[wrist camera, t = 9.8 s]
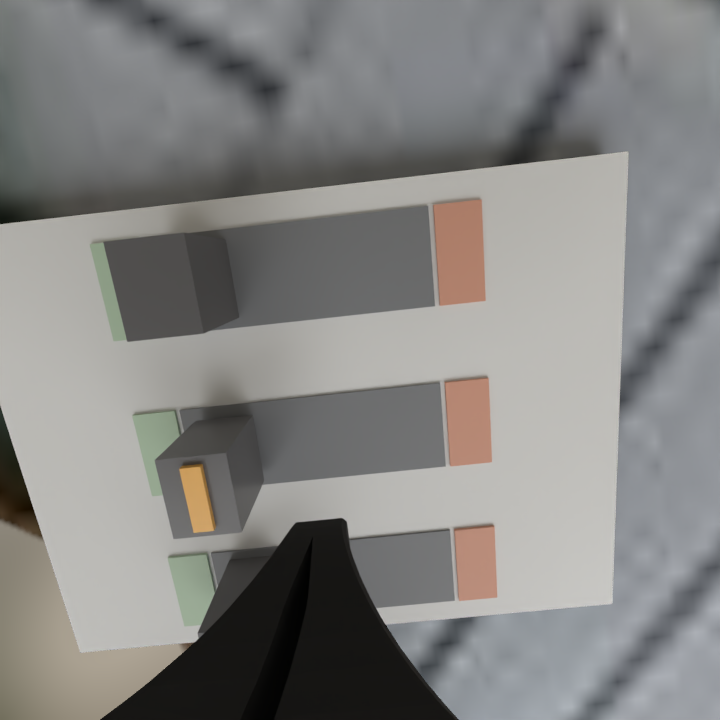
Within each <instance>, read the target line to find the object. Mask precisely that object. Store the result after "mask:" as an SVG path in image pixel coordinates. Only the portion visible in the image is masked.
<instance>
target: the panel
mask: <svg viewBox="0 0 720 720" xmlns="http://www.w3.org/2000/svg"><path fill="white" fill-rule="evenodd" d="M628 153H629V151H628V152H619V153H611V154H602V155H594V156H585V157H576V158H568V159H559V160H551V161H542V162H533V163H525V164H516V165H507V166H499V167H490V168H482V169H473V170H464V171H456V172H447V173H438V174H430V175H421V176H413V177H404V178H395V179H387V180H378V181H369V182H361V183H352V184H344V185H335V186H326V187H318V188H309V189H300V190H292V191H283V192H275V193H266V194H257V195H249V196H240V197H232V198H223V199H214V200H206V201H197V202H188V203H180V204H171V205H163V206H154V207H145V208H137V209H128V210H119V211H111V212H102V213H94V214H85V215H76V216H68V217H59V218H50V219H42V220H33V221H25V222H16V223H7V224H0V406H1V409H2V412H3V415H4V419H5V422H6V425H7V428H8V431H9V434H10V437H11V440H12V443H13V446H14V449H15V453H16V456H17V459H18V462H19V465H20V468H21V471H22V474H23V477H24V480H25V483H26V487H27V490H28V493H29V496H30V499H31V502H32V505H33V508H34V511H35V514H36V517H37V521H38V524H39V527H40V530H41V533H42V536H43V539H44V542H45V545H46V548H47V551H48V555H49V557H50V561H51V564H52V567H53V570H54V573H55V576H56V579H57V582H58V586H59V588H60V591H61V595H62V598H63V601H64V603H65V607H66V610H67V613H68V616H69V620H70V623H71V625H72V628H73V632H74V635H75V638H76V641H77V644H78V647H79V650H80V653H82V652H92V651H104V650H115V649H125V648H137V647H147V646H159V645H170V644H180V643H191V642H196V641H197V640H198V639H199V638H200V637H201V636H202V635H203V634H204V633H205V632H206V631H207V630H208V629H209V628H210V627H211V626H212V625H213V624H214V623H215V622H216V621H217V620H218V619H219V618H220V617H221V616H222V615H223V613H224V612H225V611H226V610H227V609H228V608H229V607H230V606H231V605H232V603H233V602H234V601H235V600H236V599H237V598H238V596H239V595H240V594H241V593H242V592H243V591H244V589H245V588H246V587H247V586H248V585H249V584H250V582H251V581H252V580H253V579H254V577H255V576H256V575H257V573H258V572H259V571H260V570H261V568H262V567H263V566H264V564H265V563H266V562H267V561H268V559H269V558H270V557H271V555H272V554H273V552H274V551H275V550H276V548H277V547H278V546H279V544H280V543H281V541H282V540H283V539H284V537H285V536H286V534H287V533H288V532H289V530H290V529H291V528H292V526H293V525H294V524H295V523H296V522H306V521H316V520H326V519H336V518H343V519H344V520H345V521H347V526H348V534H349V541H350V549H351V552H352V555H353V558H354V561H355V563H356V566H357V569H358V571H359V574H360V576H361V579H362V581H363V583H364V585H365V587H366V589H367V591H368V594H369V596H370V598H371V600H372V602H373V603H374V605H375V607H376V609H377V611H378V613H379V614H380V616H381V618H382V620H383V621H384V623H385V625H387V624H398V623H409V622H420V621H431V620H442V619H452V618H463V617H474V616H485V615H496V614H507V613H518V612H529V611H540V610H550V609H561V608H572V607H583V606H594V605H605V604H612V597H613V569H614V542H615V514H616V486H617V458H618V431H619V403H620V375H621V347H622V320H623V292H624V264H625V236H626V209H627V181H628ZM249 415H253V420H254V425H255V431H256V437H257V442H258V448H259V454H260V459H261V465H262V470H263V476H264V483H263V485H262V487H261V490H260V492H259V494H258V496H257V499H256V501H255V503H254V506H253V508H252V510H251V513H250V515H249V517H248V519H247V522H246V524H245V526H244V529H243V531H242V533H232V534H222V535H211V536H201V537H191V538H181V539H173V535H172V531H171V527H170V522H169V518H168V514H167V510H166V506H165V502H164V498H163V494H162V489H161V485H160V481H159V477H158V473H157V469H156V465H155V459H156V458H157V457H158V456H159V455H161V454H162V453H163V452H164V451H165V450H166V449H167V448H168V447H169V446H170V445H171V444H172V443H173V442H174V441H175V440H176V439H177V438H178V437H179V436H180V435H181V434H182V433H183V432H184V431H185V430H186V429H188V428H189V427H190V426H191V425H192V424H193V423H194V422H195V421H201V420H210V419H220V418H229V417H239V416H249Z"/></svg>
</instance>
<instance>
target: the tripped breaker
mask: <svg viewBox="0 0 720 720" xmlns="http://www.w3.org/2000/svg"><path fill="white" fill-rule="evenodd" d="M155 465H156V469H157V473H158V477H159V481H160V485H161V489H162V494H163V498H164V502H165V506H166V510H167V514H168V518H169V522H170V527H171V531H172V535H173V539H181V538H191V537H201V536H211V535H222V534H232V533H242V531H243V529H244V526H245V524H246V522H247V519H248V517H249V515H250V513H251V510H252V508H253V506H254V503H255V501H256V499H257V496H258V494H259V492H260V490H261V487H262V485H263V483H264V476H263V470H262V465H261V459H260V454H259V448H258V442H257V437H256V431H255V425H254V420H253V415H249V416H239V417H229V418H220V419H210V420H201V421H195V422H194V423H193V424H192V425H191V426H190V427H189V428H188V429H186V430H185V431H184V432H183V433H182V434H181V435H180V436H179V437H178V438H177V439H176V440H175V441H174V442H173V443H172V444H171V445H170V446H169V447H168V448H167V449H166V450H165V451H164V452H163V453H162V454H161V455H159V456H158V457H157V458H156V459H155Z"/></svg>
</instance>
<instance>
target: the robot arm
mask: <svg viewBox="0 0 720 720" xmlns="http://www.w3.org/2000/svg"><path fill="white" fill-rule="evenodd" d="M100 720H458V719H457V717H456V716H455V715H454V714H453V713H452V712H451V711H450V710H449V709H448V708H447V706H446V705H445V704H444V703H443V702H442V701H441V699H440V698H439V697H438V696H437V695H436V693H435V692H434V691H433V690H432V689H431V688H430V686H429V685H428V684H427V683H426V682H425V680H424V679H423V678H422V676H421V675H420V674H419V672H418V671H417V670H416V668H415V667H414V666H413V664H412V663H411V661H410V660H409V659H408V657H407V656H406V655H405V653H404V652H403V651H402V649H401V648H400V646H399V645H398V643H397V642H396V640H395V639H394V637H393V636H392V634H391V633H390V631H389V630H388V628H387V626H386V625H385V623H384V621H383V620H382V618H381V616H380V614H379V613H378V611H377V609H376V607H375V605H374V603H373V602H372V600H371V598H370V596H369V594H368V591H367V589H366V587H365V585H364V583H363V581H362V579H361V576H360V574H359V571H358V569H357V566H356V563H355V561H354V558H353V555H352V552H351V549H350V541H349V534H348V526H347V521H345V520H344V519H343V518H336V519H326V520H316V521H306V522H296V523H295V524H294V525H293V526H292V528H291V529H290V530H289V532H288V533H287V534H286V536H285V537H284V539H283V540H282V541H281V543H280V544H279V546H278V547H277V548H276V550H275V551H274V552H273V554H272V555H271V557H270V558H269V559H268V561H267V562H266V563H265V564H264V566H263V567H262V568H261V570H260V571H259V572H258V573H257V575H256V576H255V577H254V579H253V580H252V581H251V582H250V584H249V585H248V586H247V587H246V588H245V589H244V591H243V592H242V593H241V594H240V595H239V596H238V598H237V599H236V600H235V601H234V602H233V603H232V605H231V606H230V607H229V608H228V609H227V610H226V611H225V612H224V613H223V615H222V616H221V617H220V618H219V619H218V620H217V621H216V622H215V623H214V624H213V625H212V626H211V627H210V628H209V629H208V630H207V631H206V632H205V633H204V634H203V635H202V636H201V637H200V638H199V639H198V640H197V641H196V642H195V643H193V644H192V645H191V646H190V647H189V648H188V649H187V650H186V651H185V652H184V653H182V654H181V655H180V656H179V657H178V658H177V659H176V660H174V661H173V662H172V663H171V664H170V665H168V666H167V667H166V668H165V669H164V670H163V671H162V672H160V673H159V674H158V675H157V676H156V677H155V678H153V679H152V680H151V681H150V682H149V683H147V684H146V685H145V686H144V687H143V688H141V689H140V690H139V691H137V692H136V693H135V694H134V695H132V696H131V697H130V698H128V699H127V700H126V701H125V702H123V703H122V704H121V705H119V706H118V707H117V708H115V709H114V710H113V711H111V712H110V713H108V714H107V715H106V716H104V717H103V718H102V719H100Z"/></svg>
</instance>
